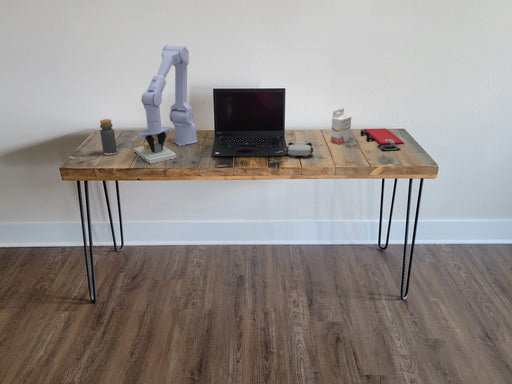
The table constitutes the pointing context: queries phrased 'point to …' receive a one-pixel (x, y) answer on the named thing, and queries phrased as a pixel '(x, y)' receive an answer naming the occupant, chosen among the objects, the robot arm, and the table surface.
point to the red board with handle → (382, 138)
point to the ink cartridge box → (340, 127)
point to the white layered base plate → (153, 160)
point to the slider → (147, 146)
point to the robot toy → (299, 148)
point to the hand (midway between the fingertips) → (156, 150)
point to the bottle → (107, 137)
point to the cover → (157, 151)
